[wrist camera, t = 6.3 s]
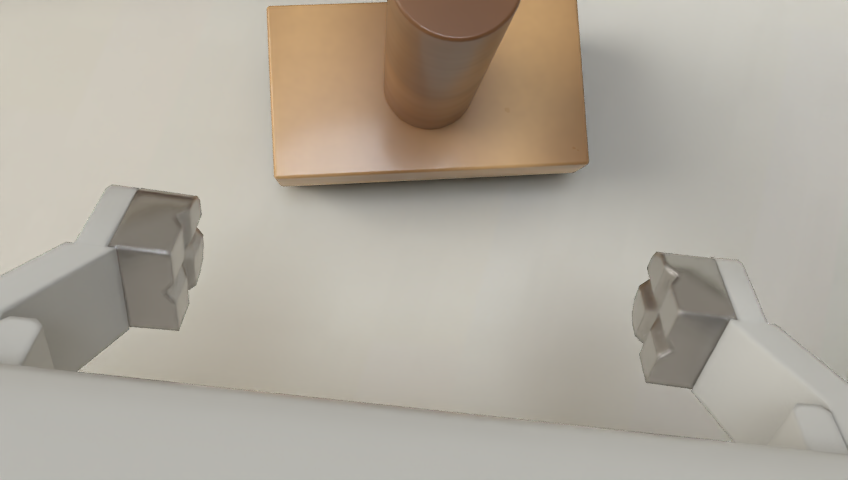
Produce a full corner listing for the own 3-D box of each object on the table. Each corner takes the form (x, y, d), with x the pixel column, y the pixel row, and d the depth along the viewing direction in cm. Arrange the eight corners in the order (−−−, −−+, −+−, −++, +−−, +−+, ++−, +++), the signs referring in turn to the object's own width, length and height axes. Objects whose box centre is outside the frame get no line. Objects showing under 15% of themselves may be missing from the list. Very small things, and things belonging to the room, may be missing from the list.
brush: (555, 27, 26) (679, -159, 15) (566, 178, 25) (701, 94, 15) (278, 37, 25) (210, -150, 15) (285, 192, 25) (220, 114, 14)
